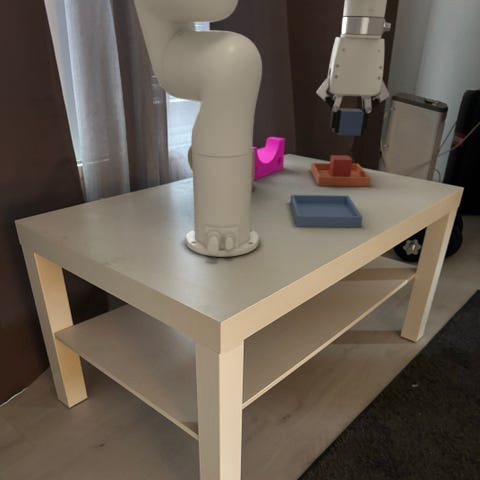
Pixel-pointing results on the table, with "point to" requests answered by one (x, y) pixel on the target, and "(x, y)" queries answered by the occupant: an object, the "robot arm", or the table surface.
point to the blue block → (350, 121)
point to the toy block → (269, 157)
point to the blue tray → (325, 211)
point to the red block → (340, 166)
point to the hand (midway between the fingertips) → (347, 131)
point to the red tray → (324, 179)
